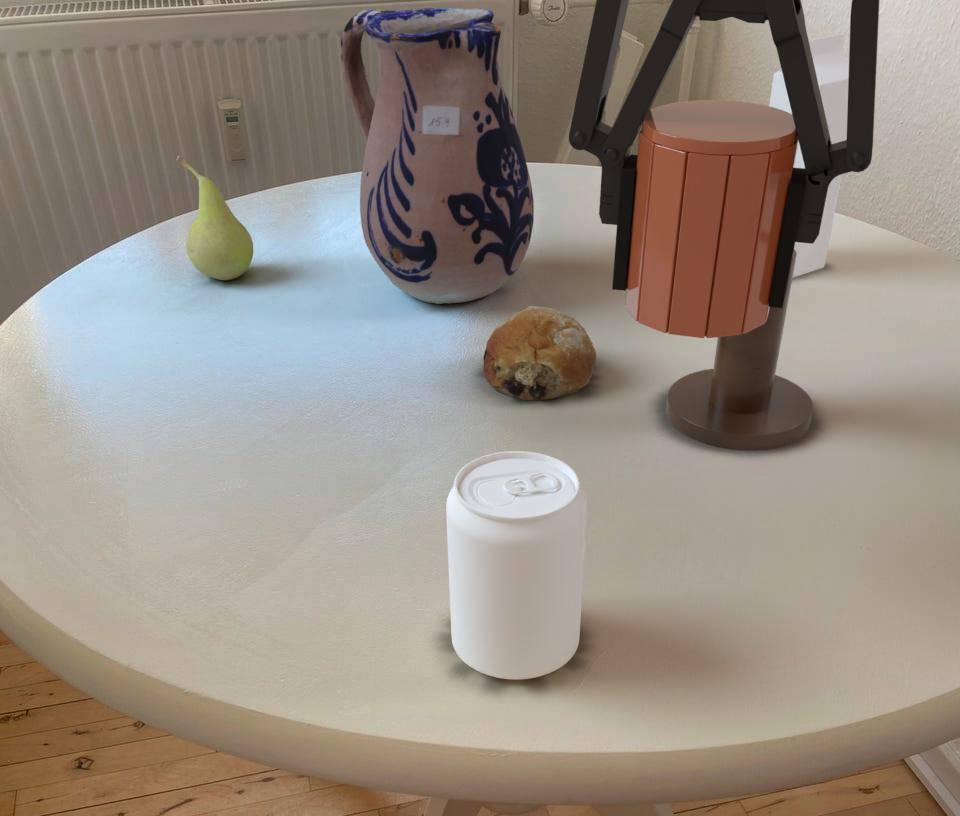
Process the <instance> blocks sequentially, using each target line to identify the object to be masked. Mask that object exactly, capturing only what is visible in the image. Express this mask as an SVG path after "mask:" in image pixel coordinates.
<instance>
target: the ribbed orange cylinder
mask: <svg viewBox="0 0 960 816" xmlns="http://www.w3.org/2000/svg"><path fill="white" fill-rule="evenodd" d="M798 143H799V140H798V136H797V132H796V128H795V124H794V119H793V115H792V114H790V113H788V112H786V111H783V110H780V109H777V108H774V107H770V106H769V105H766V104H759V103H754V102H746V101H739V100H738V101H737V100H727V99H726V100H722V99H719V100H718V99H699V100H686V101H678V102H672V103H666V104H662V105H659V106H656V107H653V108H650V110H649V111H648V113H647V114H646V115H645V117H644V118H643V120H642V126H641V129H640V130H639V132H638V143H637V145H638V146H637V154H636V155H637V167H636V168H637V170H636V182H635V194H634V206H633V218H632V230H631V242H630V254H629V266H628V278H627V288H626V290H625V299H624V300H625V301H624V306H625V309H626V310H627V312H628V313H629V314H630V316H631V317H632V318H633V319H634V321H636V322H637V323H638V324H641V325H643V326H645V327H648V328H650V329H653V330H656V331H658V332H661V333H663V334H667V333H668V335H674V336H681V337H690V338H699V339H704V338H707V339H713V338H718V337H724V336H733V335H740V334H741V333H742V334H745V333H747V332H749V331H751V330H753V329H755V328H757V327H759V326H761V325H763V324H764V323H765V322H766V321H767V317H768V313H769V309H770V307H768V306H769V300H770V295H771V289H772V283H773V277H774V272H775V266H776V260H777V254H778V248H779V243H780V237H781V231H782V225H783V219H784V214H785V208H786V202H787V196H788V191H789V185H790V181H791V178H792V175H793V171H794V166H795V160H796V154H797V149H798Z"/></svg>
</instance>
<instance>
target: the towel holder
mask: <svg viewBox="0 0 960 816" xmlns="http://www.w3.org/2000/svg"><path fill="white" fill-rule="evenodd" d="M796 256H797V253H796V251H795V249H794V252H793V257H792V263H791V268H790V274H789V279H788V285H787V290H786V294H785V299H784V303H783V308H776V307H770V309H769V313H768V317H767V321H766V322H765V323H764V324H763V325H761V326H759V327H757V328H755V329H753V330H751V331H749V332H747V333H745V334H742V333H741V334H740V335H733V336H724V337H717V340H716V346H715V355H714V362H713V368H708V369H707V368H706V369H703V370H698V371H694V372H690V373H689V374H686V375H684V376H682V377H680V378H679V379H677V380H676V381H675V382H673V383H672V384H671V386H670V388H669V390H668V391H667V397H666V405H665V416H666V418H667V420H668V422H669V424H670V425H671V426H672V427H673V428H674V429H675V430H677V431H678V432H679V433H680V434H682V435H684V436H686V437H687V438H689V439H691V440H693V441H697V442H698V443H701V444H704V445H707V446H710V447H714V448H719V449H725V450H731V451H732V450H733V451H748V452H749V451H766V450H772V449H777V448H781V447H784V446H787V445H790V444H792V443H794V442H797V441H798V440H799V439H801V438H802V437H804V435H805V434H807V432H808V430H809V428H810V425H811V420H812V415H813V411H814V404H813V401H812V398H811V397H810V395H809V394H808V393H807V391H806V390H804V389H803V388H802V387H800V386H799V385H798V384H797V383H795V382H793V381H791V380H789V379H787V378H784V377H783V376H779V375H777V374H776V372H777V366H778V360H779V357H780V349H781V344H782V338H783V333H784V327H785V322H786V316H787V311H788V306H789V300H790V299H789V298H790V294H791V289H792V283H793V279H794V278H793V272H794V267H795V261H796Z"/></svg>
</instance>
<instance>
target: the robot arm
mask: <svg viewBox="0 0 960 816" xmlns="http://www.w3.org/2000/svg"><path fill="white" fill-rule="evenodd" d="M629 2H630V0H595V5H594V10H593V16H592V21H591V25H590V30H589V35H588V40H587V44H586V49H585V54H584V59H583V64H582V69H581V75H580V79H579V83H578V88H577V93H576V97H575V104H574V109H573V113H572V118H571V122H570V128H569V132H568V143H569V145H570V146H571V148H572V149H574V150H577V151H585V152H587V153H589V154H591V155H593V156H595V157H596V158H597V159H598V161H599V163H600V165H601V176H600V177H601V178H600V193H599V195H600V196H599V208H598V210H599V211H598V215H599V218H600V222H601V224H602V225H610V226H616V233H615V234H616V235H615V247H614V261H613V275H612V287H611V289H612V290H616V291H625V292H626V288H627V278H628V266H629V254H630V242H631V230H632V218H633V206H634V194H635V182H636V170H637V168H636V167H637V155H638V154H631V148H632V146H633V145H634V142H635V140H636V138H637V136H638V135H639V133H640V131H641V129H642V120H643V118H644V117H645V115H646V114H647V113H648V111H649V110H651V109H652V106H653V104H654V102H655V100H656V98H657V96H658V94H659V92H660V90H661V88H662V86H663V84H664V82H665V80H666V78H667V76H668V74H669V73H670V71H671V68H672V66H673V65H674V62H675V60H676V58H677V57H678V54H679V53H680V50H681V48H682V46H683V44H684V43H685V40H686V38H687V36H688V35H689V32H690V30H691V29H692V27H693V26H694V23H695V21H696V19H697V18H698V21H705V22H716V21H721V20H724V19H730V18H733V19H737V20H739V21H742V22H745V23H748V24H765V23H766V22H767V21H768V25H769V29H770V33H771V37H772V41H773V44H774V45H775V48H776V52H777V57H778V61H779V64H780V68H781V69H782V73H783V77H784V82H785V86H786V90H787V94H788V98H789V103H790V107H791V111H792V115H793V119H794V124H795V128H796V132H797V136H798V140H799V144H800V149H801V153H802V157H803V161H804V165H805V169H804V168H794V171H793V175H792V178H791V181H790V185H789V191H788V196H787V202H786V208H785V214H784V219H783V225H782V231H781V237H780V243H779V248H778V254H777V260H776V266H775V272H774V277H773V283H772V289H771V295H770V300H769V306H768V307H776V308H783V303H784V299H785V294H786V290H787V285H788V279H789V274H790V268H791V263H792V257H793V252H794V246H795V242H801V243H811V244H813V243H814V242H815V240H816V238H817V237H818V235H819V232H820V226H821V221H822V216H823V211H824V206H825V201H826V196H827V191H828V187H829V184H830V183H831V181H832V180H833V179H834V178H835V177H837V176H838V175H841V174H842V175H844V174H848V173H851V172H853V173H861V172H864V171H865V170H867V169H868V168H869V166H870V165H871V163H872V157H873V148H874V134H875V133H874V131H875V110H876V108H875V107H876V89H877V87H876V86H877V67H878V66H877V65H878V63H877V62H878V44H879V43H878V41H879V23H880V22H879V21H880V19H879V18H880V0H851V5H850V17H849V18H850V19H849V21H850V22H849V23H850V24H849V47H848V48H849V51H848V59H849V80H848V112H847V140H845V141H842V142H838V143H834V144H832V143H831V139H830V134H829V130H828V125H827V121H826V116H825V112H824V107H823V103H822V98H821V94H820V89H819V85H818V80H817V76H816V72H815V67H814V63H813V58H812V54H811V49H810V45H809V40H810V39H809V37H808V32H807V26H806V18H805V13H804V9H803V8H804V7H803V4H802V0H672V1H671V4H670V6H669V8H668V10H667V12H666V14H665V16H664V18H663V20H662V22H661V25H660V27H659V30H658V32H657V34H656V36H655V38H654V41H653V42H652V44H651V47H650V49H649V50H648V53H647V55H646V56H645V59H644V61H643V63H642V65H641V68H640V69H639V71H638V74H637V76H636V78H635V80H634V82H633V84H632V86H631V88H630V89H629V92H628V94H627V96H626V98H625V100H624V102H623V105H622V107H621V109H620V111H619V113H618V115H617V117H616V119H615V121H614V123H613V126H610V125H609V124H606V123H604V122H603V119H604V115H605V111H606V105H607V101H608V96H609V93H610V87H611V83H612V79H613V74H614V70H615V66H616V65H615V64H616V60H617V57H618V51H619V48H620V44H621V43H620V42H621V39H622V35H623V29H624V24H625V20H626V15H627V12H628V6H629ZM781 69H780V70H781Z"/></svg>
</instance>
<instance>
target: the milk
mask: <svg viewBox="0 0 960 816" xmlns="http://www.w3.org/2000/svg"><path fill="white" fill-rule="evenodd" d="M808 40H809V45H810V49H811V54H812V58H813V63H814V67H815V72H816V76H817V80H818V85H819V89H820V94H821V98H822V103H823V107H824V112H825V116H826V121H827V125H828V130H829V134H830V139H831V143H832V144H834V143H838V142H842V141H845V140H847V112H848V80H849V57H848V56H847V55H846V54H845V53H844V51H843V47H844V41H845V34H844V33H837V34H833V35H827V36H823V37H818V38H813V39H808ZM768 103H769V104H768V106H770V107H774V108H777V109H780V110H783V111H786V112H788V113H790V114H792V111H791V107H790V103H789V98H788V94H787V90H786V86H785V82H784V77H783V73H782V69H779V70H777V71H776V72H774V73H773V77H772V84H771V91H770V96H769V102H768ZM794 168H804V169H805V165H804V161H803V157H802V153H801V149H800V144H799V143H798V149H797V154H796V160H795V166H794ZM842 179H843V174H841V175H838V176H837V177H835V178H834V179H833V180H832V181H831V183H830V184H829V187H828V191H827V196H826V201H825V206H824V211H823V216H822V221H821V226H820V232H819V235H818V237H817V238H816V240H815V242H814V243H813V244H811V243H801V242H795V246H794V249H795V251H796V253H797V256H796V261H795V267H794V272H793V278H792V279H794V278H796V277H799V276H803V275H805V274H808V273H811V272H814V271H818V270H820V269H823V268H825V266H826V265H825V264H826V260H827V254H828V249H829V245H830V240H831V234H832V230H833V225H834V218H835V214H836V209H837V204H838V199H839V194H840V189H841V183H842Z"/></svg>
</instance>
